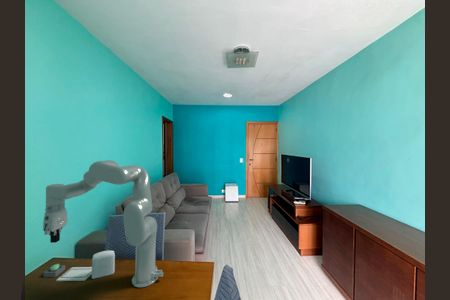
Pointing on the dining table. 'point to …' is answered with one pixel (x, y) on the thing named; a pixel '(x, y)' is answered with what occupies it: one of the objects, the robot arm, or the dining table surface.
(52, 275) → the button housing
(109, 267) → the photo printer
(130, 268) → the dining table surface
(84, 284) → the dining table surface
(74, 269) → the paper board
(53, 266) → the button
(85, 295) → the dining table surface
